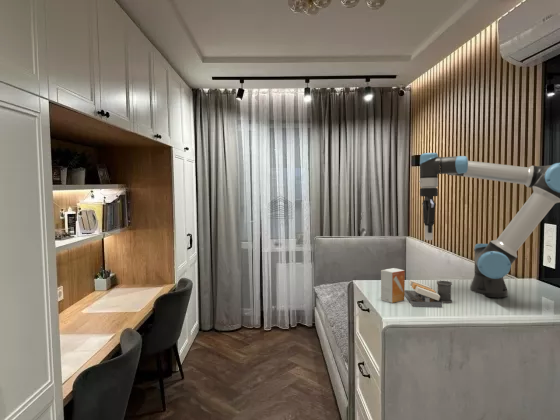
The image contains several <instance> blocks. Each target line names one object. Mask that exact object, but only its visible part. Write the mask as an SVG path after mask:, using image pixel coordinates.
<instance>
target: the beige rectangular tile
mask: <svg viewBox="0 0 560 420" xmlns="http://www.w3.org/2000/svg"><path fill="white" fill-rule="evenodd" d="M414 291H416V292H417V293H419V294H422V295H424V296H427V297H430V298H433V299H435V300H438V301H439V298H440V295H439V294H438V292H436V293H434V292H431V291H429V290H426V289H423V288H420V287H418V286H416V289H414Z"/></svg>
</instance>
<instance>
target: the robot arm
mask: <svg viewBox="0 0 560 420" xmlns="http://www.w3.org/2000/svg"><path fill="white" fill-rule="evenodd" d="M439 175H448V176H453V177H454V176H457V177H464V178H465V177H466V178H472V179H473V178H474V179H481V180H487V181H493V182H494V181H496V182H503V183H511V184H518V185H525V187H526V188H531V189H532V191H533V192H532V193H531V195H530V196H529V198H528V199H527V200H526V201H525V203H524V204H523V205H522V206H521V208H520V209H519V211H517V213H516V214H515V215H514V217H512V219H511V220H510V222H509V223H508V225H506V227H505V229H504V230H503V231H502V232H501V233H500V235H499V236H498V237H497V239H494V240H490V241H489V243H476V244H475V245H474V248H473V249H474V250H473V251H474V274H473V275H474V276H473V278H472V280H471V284H470V287H469V290H470V291H471V292H472V293H473V292H474V293H475V294H481V295H483V296H484V297H487V298H505V297H508V294H509V292H508V291H509V290H508V288H507V285H506V281H505V276H507V275H508V274H509V272H510V271H511V267H512V265H513V264H514V262H515V261H516V260H517V258H518V255H517V254H518V253H517V252H518V250H519V249H520V248H521V246H523V245H524V243H525V242H526V240H527V239H528V238H529V237H530V236H531V234H532V233H533V232H534V231H535V229H536V228H537V227H538V225H539V224H540V223H541V222H542V220H543V219H544V218H545V217H546V215H547V214H548V213H549V212H550V210H551V209H552V208H553V207H554V206H555V204H558V203H560V162H555V163H553V164H551V165H550V164H549V165H541V166H540V165H531V166H529V167H526V166H517V165H510V164H501V163H493V162H492V163H491V162H484V161H476V160H475V161H473V160H469V158H468V156H465V155H462V156H461V155H457V156H456V155H455V156H443V157H442V156H439V155H438V152H425V153H424V152H423V153H422V154H420V156H419V180H418V183H419V187H420V189H419V196H420V197H424V200H422V203H421V204H422V215H423V224H424V240H426V241H434V239H433V237H434V235H433V234H434V232H433V230H434V225H435V219H436V216H435V215H436V206H437V205H436V202H435V200H434V197H438V195H439V189H438V188H437V187H439V177H438V176H439Z"/></svg>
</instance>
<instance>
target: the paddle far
mask: <svg viewBox="0 0 560 420" xmlns="http://www.w3.org/2000/svg"><path fill="white" fill-rule="evenodd" d="M413 283H416V284H418V285H421V286H424V287H427V288H429V289H432V290H433V288H432V287H431V286H429V285H427V284H423V283H421V282H418V281H415V280H412V279H410V280H409V281H408V285H409V286H410V287H412V285H413Z"/></svg>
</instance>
